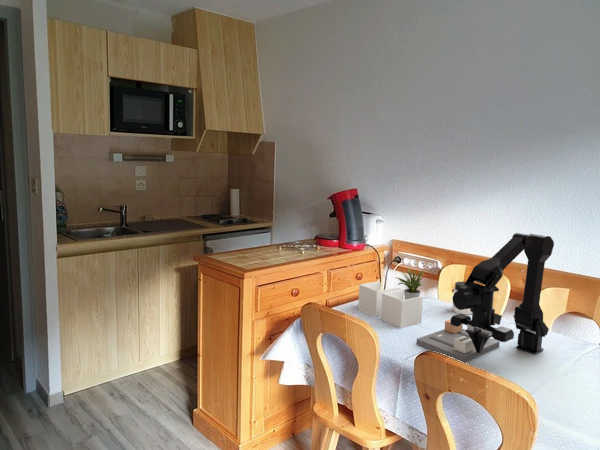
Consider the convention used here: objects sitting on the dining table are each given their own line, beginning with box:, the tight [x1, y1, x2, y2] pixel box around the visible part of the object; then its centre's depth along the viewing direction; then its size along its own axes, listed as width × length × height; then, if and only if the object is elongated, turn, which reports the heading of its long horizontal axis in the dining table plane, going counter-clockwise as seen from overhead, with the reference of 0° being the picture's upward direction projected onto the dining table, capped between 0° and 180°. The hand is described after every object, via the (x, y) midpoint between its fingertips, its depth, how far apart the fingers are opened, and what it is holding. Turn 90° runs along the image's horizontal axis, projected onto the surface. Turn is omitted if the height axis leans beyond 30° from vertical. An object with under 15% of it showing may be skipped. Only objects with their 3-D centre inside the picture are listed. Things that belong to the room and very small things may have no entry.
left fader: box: [454, 336, 474, 353], centre depth 151 cm, size 4×5×4 cm
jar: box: [451, 281, 472, 316], centre depth 196 cm, size 9×8×12 cm
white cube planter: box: [357, 280, 424, 329], centre depth 188 cm, size 25×11×11 cm, turn 33°
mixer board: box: [416, 328, 501, 363], centre depth 160 cm, size 18×22×2 cm
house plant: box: [394, 267, 427, 300], centre depth 204 cm, size 14×14×16 cm
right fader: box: [444, 318, 464, 334], centre depth 168 cm, size 4×5×4 cm
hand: (478, 352), depth 147 cm, fingers closed
